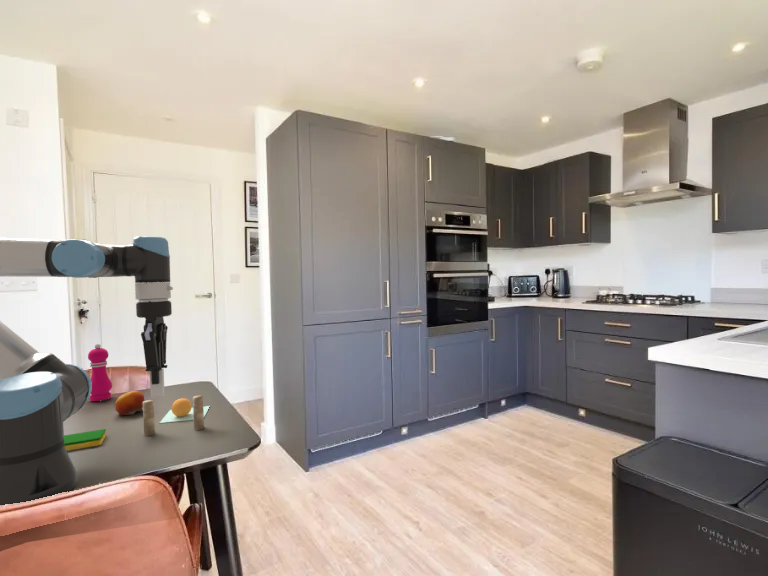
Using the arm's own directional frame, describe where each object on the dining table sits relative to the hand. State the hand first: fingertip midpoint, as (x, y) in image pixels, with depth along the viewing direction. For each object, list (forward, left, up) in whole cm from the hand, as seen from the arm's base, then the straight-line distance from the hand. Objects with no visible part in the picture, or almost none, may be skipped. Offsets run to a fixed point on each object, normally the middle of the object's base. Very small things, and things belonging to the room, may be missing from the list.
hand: (157, 396), depth 101 cm
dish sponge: (-24, +11, -14) cm, 30 cm away
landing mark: (0, +27, -14) cm, 30 cm away
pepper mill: (-34, +55, -14) cm, 66 cm away
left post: (-6, +13, -14) cm, 20 cm away
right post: (+7, +13, -14) cm, 20 cm away
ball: (-1, +26, -11) cm, 28 cm away
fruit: (-18, +35, -14) cm, 42 cm away
